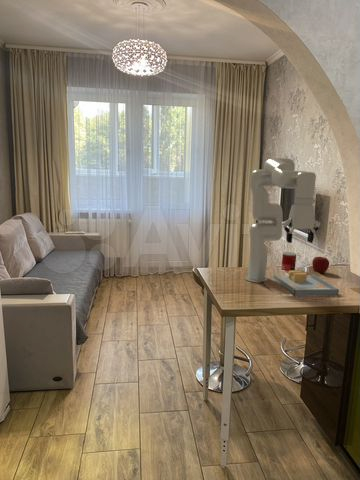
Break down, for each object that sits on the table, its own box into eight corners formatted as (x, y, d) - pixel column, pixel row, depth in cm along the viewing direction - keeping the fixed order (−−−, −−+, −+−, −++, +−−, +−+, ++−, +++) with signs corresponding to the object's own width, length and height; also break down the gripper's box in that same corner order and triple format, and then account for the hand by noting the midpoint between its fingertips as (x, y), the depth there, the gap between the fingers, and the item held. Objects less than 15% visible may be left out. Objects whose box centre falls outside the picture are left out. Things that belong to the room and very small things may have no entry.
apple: (328, 272, 223) (330, 256, 221) (327, 276, 214) (329, 259, 212) (312, 269, 226) (313, 254, 224) (310, 273, 218) (312, 257, 216)
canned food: (293, 273, 217) (294, 255, 215) (279, 271, 221) (281, 253, 219) (296, 270, 224) (297, 253, 221) (282, 268, 227) (284, 251, 225)
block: (288, 278, 203) (289, 270, 202) (300, 278, 204) (300, 270, 203) (294, 282, 196) (294, 274, 195) (306, 282, 197) (307, 274, 196)
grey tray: (273, 279, 203) (273, 274, 203) (312, 279, 207) (312, 274, 206) (294, 296, 178) (295, 290, 177) (338, 295, 182) (338, 289, 181)
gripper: (317, 201, 157) (313, 240, 160) (280, 200, 153) (276, 240, 157) (327, 203, 150) (322, 243, 153) (288, 202, 146) (285, 244, 150)
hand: (299, 242), depth 155 cm, fingers open, 9 cm apart
